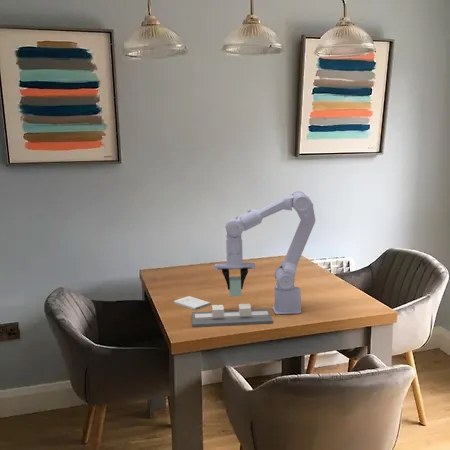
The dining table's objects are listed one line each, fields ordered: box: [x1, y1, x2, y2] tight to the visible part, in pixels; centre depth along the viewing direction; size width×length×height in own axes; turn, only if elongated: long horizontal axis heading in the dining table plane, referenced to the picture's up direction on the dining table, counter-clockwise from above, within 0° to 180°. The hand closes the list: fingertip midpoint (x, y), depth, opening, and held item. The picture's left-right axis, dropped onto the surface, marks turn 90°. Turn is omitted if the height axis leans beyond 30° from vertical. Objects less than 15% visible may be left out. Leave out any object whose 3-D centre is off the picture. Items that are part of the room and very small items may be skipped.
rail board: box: [191, 303, 274, 328], centre depth 190 cm, size 28×12×5 cm, turn 94°
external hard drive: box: [173, 295, 212, 311], centre depth 208 cm, size 2×8×12 cm
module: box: [228, 275, 242, 298], centre depth 196 cm, size 4×5×6 cm
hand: (235, 288), depth 196 cm, fingers closed on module, 4 cm apart
